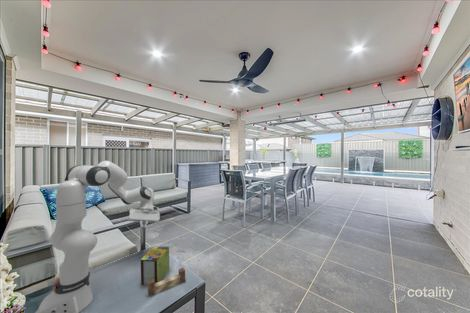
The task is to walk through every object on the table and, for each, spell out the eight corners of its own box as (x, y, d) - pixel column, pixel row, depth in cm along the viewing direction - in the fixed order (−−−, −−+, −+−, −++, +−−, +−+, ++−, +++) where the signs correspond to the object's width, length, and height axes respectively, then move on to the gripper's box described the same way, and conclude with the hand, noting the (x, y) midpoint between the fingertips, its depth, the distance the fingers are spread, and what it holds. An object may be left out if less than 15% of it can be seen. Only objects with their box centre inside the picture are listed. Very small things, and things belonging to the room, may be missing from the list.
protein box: (169, 269, 119) (169, 246, 119) (157, 286, 104) (157, 260, 103) (154, 268, 120) (154, 245, 120) (140, 285, 105) (140, 259, 104)
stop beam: (148, 296, 97) (148, 284, 96) (147, 291, 100) (147, 279, 100) (185, 281, 108) (185, 270, 108) (183, 277, 111) (182, 266, 111)
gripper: (131, 205, 125) (126, 225, 116) (161, 208, 136) (159, 226, 127) (129, 209, 129) (125, 228, 120) (158, 212, 139) (157, 230, 130)
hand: (143, 227), depth 123 cm, fingers closed
